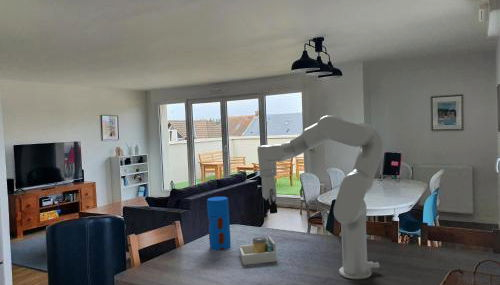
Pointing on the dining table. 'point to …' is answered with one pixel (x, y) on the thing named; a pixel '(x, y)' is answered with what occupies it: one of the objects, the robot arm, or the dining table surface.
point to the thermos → (218, 223)
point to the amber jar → (259, 244)
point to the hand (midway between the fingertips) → (271, 211)
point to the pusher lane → (257, 254)
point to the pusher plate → (268, 246)
